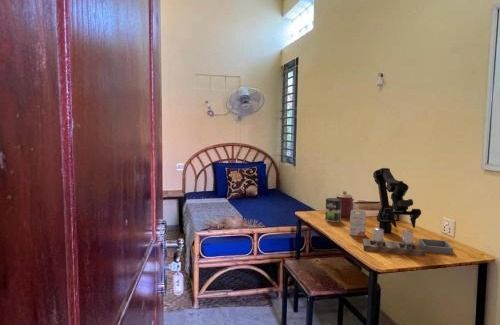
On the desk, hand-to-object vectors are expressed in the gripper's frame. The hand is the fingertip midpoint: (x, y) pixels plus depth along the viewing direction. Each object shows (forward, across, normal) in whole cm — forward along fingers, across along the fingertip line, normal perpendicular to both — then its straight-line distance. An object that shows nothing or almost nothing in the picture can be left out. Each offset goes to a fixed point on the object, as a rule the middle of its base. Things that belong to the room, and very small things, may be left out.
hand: (405, 227), depth 180 cm
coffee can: (-31, -26, +48) cm, 62 cm away
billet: (+8, -14, +7) cm, 18 cm away
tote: (+8, +16, +8) cm, 19 cm away
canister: (-41, -15, +58) cm, 72 cm away
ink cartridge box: (-8, -18, +24) cm, 31 cm away
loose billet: (+11, 0, +5) cm, 12 cm away
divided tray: (+10, -7, +6) cm, 13 cm away
